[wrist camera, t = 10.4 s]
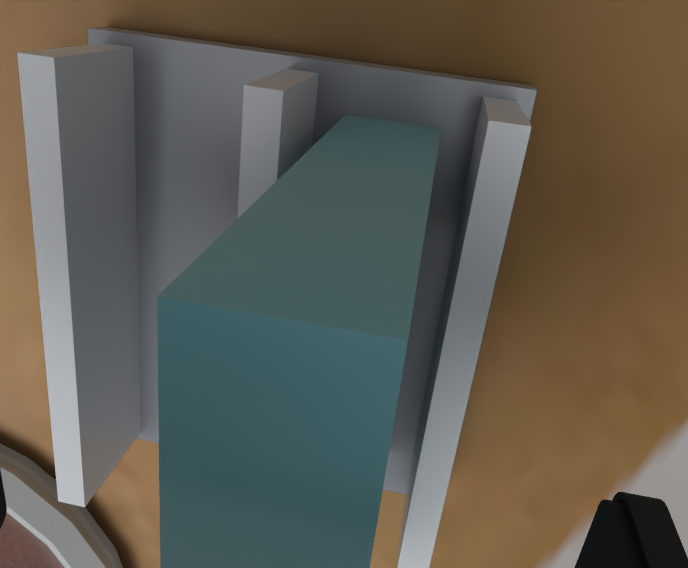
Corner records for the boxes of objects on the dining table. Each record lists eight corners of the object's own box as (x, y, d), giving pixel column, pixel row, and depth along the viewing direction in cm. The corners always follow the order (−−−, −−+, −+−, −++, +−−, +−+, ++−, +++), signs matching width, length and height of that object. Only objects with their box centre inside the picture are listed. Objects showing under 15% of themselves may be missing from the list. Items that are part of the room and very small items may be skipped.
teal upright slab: (345, 114, 16) (157, 296, 6) (441, 127, 16) (407, 341, 6) (310, 438, 20) (165, 861, 10) (386, 453, 20) (312, 901, 10)
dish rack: (107, 26, 17) (-3, 34, 13) (532, 85, 16) (557, 113, 12) (121, 414, 22) (45, 506, 18) (443, 480, 21) (438, 593, 17)
